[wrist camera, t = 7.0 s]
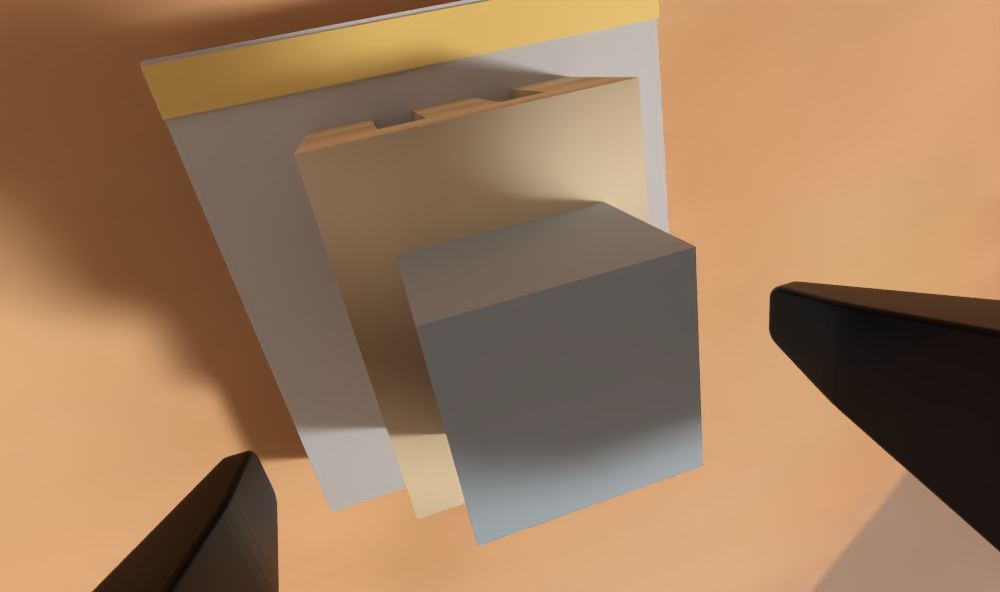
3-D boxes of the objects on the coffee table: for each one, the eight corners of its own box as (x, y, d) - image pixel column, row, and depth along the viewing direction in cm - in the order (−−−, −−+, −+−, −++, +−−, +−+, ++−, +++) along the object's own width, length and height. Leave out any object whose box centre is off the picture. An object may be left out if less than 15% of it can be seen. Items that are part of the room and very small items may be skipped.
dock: (606, -19, 15) (656, -37, 12) (639, 359, 20) (679, 398, 17) (174, 63, 13) (136, 61, 10) (333, 457, 18) (331, 514, 15)
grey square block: (395, 255, 10) (415, 326, 7) (603, 201, 10) (695, 247, 8) (445, 433, 11) (477, 546, 9) (622, 377, 12) (702, 465, 9)
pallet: (307, 133, 12) (293, 154, 9) (566, 76, 13) (638, 77, 10) (401, 426, 15) (416, 519, 12) (601, 364, 16) (663, 434, 13)
